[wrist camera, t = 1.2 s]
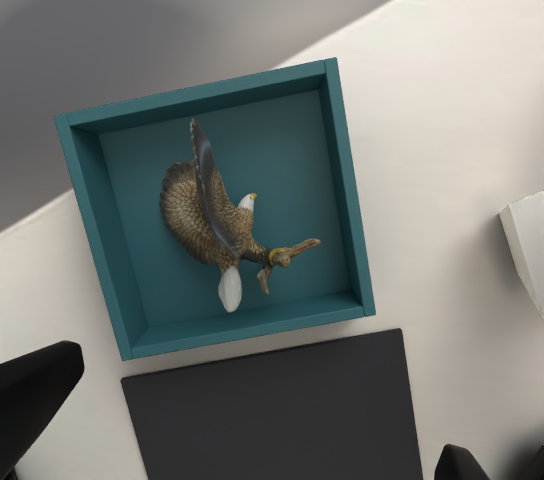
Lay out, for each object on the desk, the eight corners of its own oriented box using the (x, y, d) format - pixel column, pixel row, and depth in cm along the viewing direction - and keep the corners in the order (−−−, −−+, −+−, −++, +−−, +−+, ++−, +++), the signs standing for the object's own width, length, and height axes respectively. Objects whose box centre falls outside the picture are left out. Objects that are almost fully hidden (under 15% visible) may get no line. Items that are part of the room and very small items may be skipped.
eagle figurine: (331, 200, 21) (215, 94, 19) (313, 286, 16) (149, 154, 14) (257, 256, 26) (156, 177, 23) (224, 336, 21) (90, 245, 18)
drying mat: (168, 540, 27) (167, 546, 27) (122, 377, 25) (120, 380, 24) (424, 499, 26) (426, 504, 26) (400, 327, 24) (402, 330, 24)
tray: (144, 335, 24) (121, 361, 21) (88, 126, 22) (52, 115, 19) (361, 295, 24) (376, 315, 20) (326, 77, 22) (336, 56, 18)
